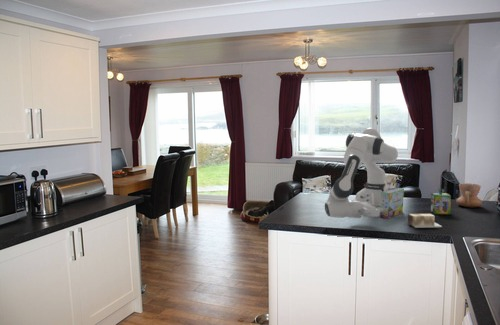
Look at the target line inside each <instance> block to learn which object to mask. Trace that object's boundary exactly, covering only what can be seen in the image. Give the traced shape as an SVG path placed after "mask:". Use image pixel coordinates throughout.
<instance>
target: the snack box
mask: <svg viewBox="0 0 500 325" xmlns="http://www.w3.org/2000/svg"><path fill="white" fill-rule="evenodd" d="M404 193H405V188H403V187H394V188H391V189H387V190H385V191H383V192H381V205H380V206H379V207H382V208H383V211H380V214H379V218H383V219H387V220H388V219H391V218H393V217H395V216H398V215H400V214H403V213H404V197H405V196H404V195H405V194H404Z"/></svg>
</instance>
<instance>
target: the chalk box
mask: <svg viewBox="0 0 500 325" xmlns="http://www.w3.org/2000/svg"><path fill="white" fill-rule="evenodd" d="M437 189H438V192H431V193H430V212H432V213H433V215H451V208H452V207H451V206H452V204H451V200H452V196H451V195H450V193H447V192H442V189H441V188H439V187H438V188H437Z"/></svg>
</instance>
